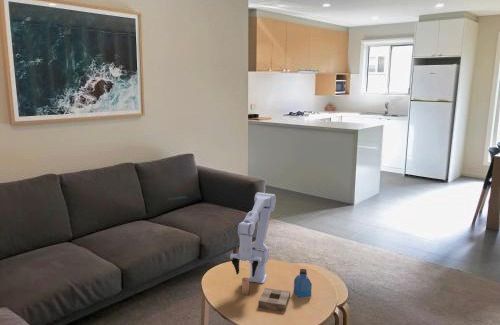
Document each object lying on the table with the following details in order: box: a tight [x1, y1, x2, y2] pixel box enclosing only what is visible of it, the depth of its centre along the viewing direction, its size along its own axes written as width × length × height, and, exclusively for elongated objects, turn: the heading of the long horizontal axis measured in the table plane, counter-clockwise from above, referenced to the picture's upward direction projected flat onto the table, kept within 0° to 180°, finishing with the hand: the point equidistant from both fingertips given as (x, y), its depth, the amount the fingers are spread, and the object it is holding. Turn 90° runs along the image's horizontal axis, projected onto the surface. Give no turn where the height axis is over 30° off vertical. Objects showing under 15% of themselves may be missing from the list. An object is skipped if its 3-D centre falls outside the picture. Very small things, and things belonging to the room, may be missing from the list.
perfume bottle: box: [293, 268, 312, 299], centre depth 187 cm, size 6×6×12 cm
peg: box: [241, 277, 250, 296], centre depth 187 cm, size 3×3×7 cm
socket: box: [258, 287, 291, 312], centre depth 180 cm, size 12×12×3 cm
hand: (245, 274), depth 186 cm, fingers open, 7 cm apart
